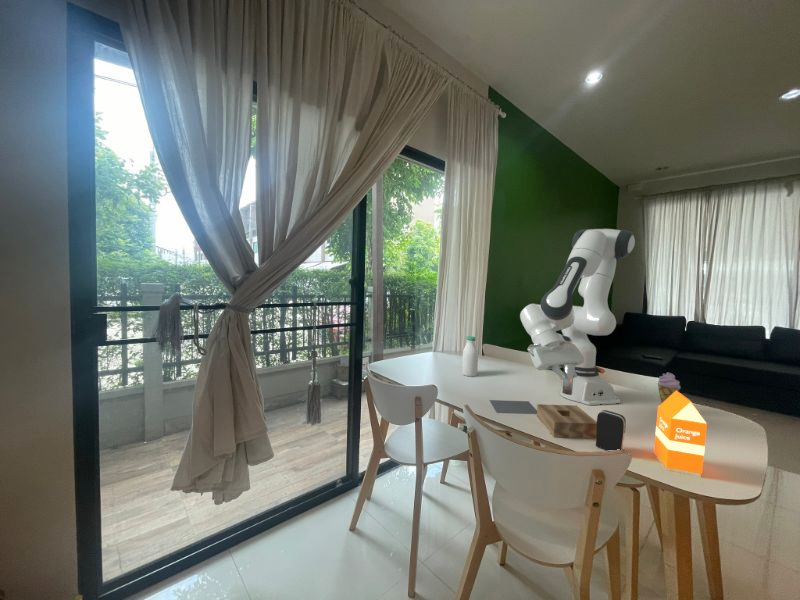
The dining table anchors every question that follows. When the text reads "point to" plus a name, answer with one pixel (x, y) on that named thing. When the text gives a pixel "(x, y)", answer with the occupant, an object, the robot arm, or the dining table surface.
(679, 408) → the orange juice
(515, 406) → the mat
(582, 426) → the socket block
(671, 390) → the ice cream cone
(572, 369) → the pin
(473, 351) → the milk bottle
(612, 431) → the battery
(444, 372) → the dining table surface
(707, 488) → the dining table surface
